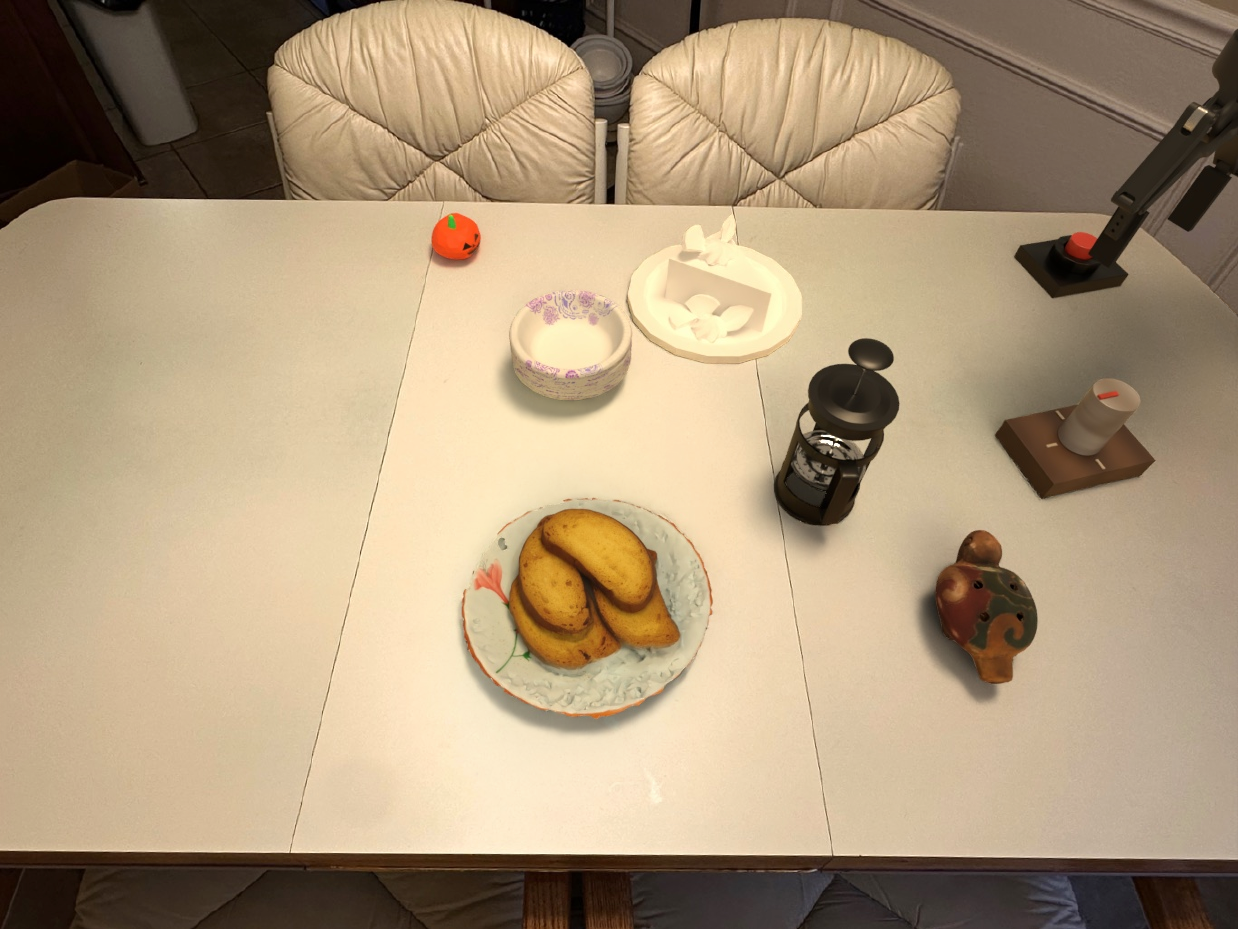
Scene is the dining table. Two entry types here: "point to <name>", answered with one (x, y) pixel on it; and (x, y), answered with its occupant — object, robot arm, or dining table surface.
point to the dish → (714, 299)
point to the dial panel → (1068, 454)
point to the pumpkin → (455, 236)
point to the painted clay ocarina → (986, 607)
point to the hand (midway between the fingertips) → (1140, 242)
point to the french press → (839, 433)
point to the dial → (1098, 416)
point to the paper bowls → (571, 344)
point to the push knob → (1080, 245)
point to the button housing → (1066, 269)
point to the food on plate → (587, 607)
